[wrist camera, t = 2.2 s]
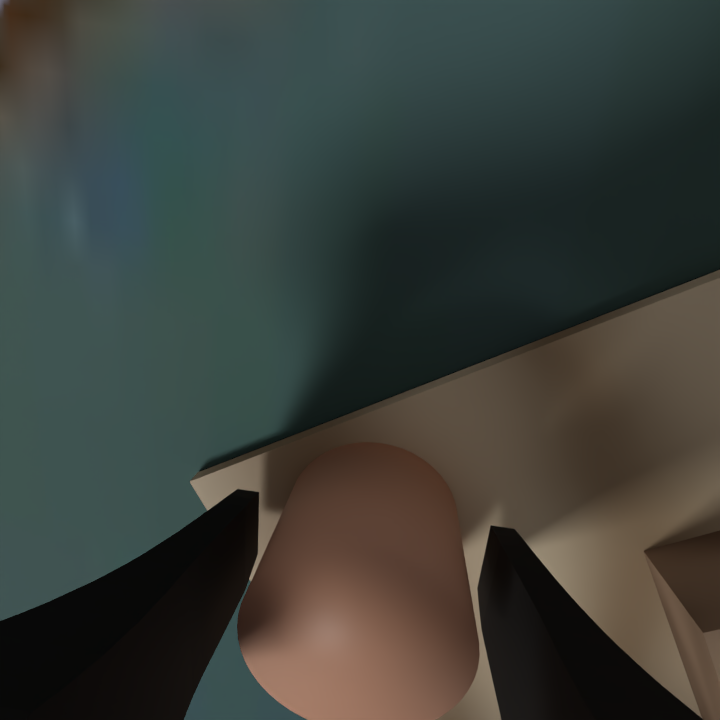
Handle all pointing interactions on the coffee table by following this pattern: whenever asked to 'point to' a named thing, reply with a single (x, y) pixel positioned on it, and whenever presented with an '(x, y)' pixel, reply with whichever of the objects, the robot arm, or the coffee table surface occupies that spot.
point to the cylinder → (363, 593)
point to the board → (555, 462)
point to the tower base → (693, 611)
